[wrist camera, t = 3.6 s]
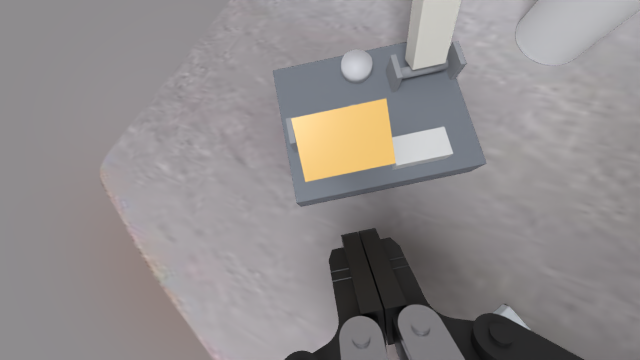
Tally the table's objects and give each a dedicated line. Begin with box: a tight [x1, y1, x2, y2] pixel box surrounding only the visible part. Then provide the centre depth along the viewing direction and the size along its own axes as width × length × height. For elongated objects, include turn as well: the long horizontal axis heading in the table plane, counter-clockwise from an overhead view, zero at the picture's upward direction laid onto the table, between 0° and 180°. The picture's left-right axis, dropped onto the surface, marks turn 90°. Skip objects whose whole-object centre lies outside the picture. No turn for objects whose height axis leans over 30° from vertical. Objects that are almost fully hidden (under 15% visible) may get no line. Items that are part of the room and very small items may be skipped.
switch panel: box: [273, 41, 486, 207], centre depth 26 cm, size 18×14×5 cm
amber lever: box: [291, 99, 396, 182], centre depth 17 cm, size 4×2×16 cm, turn 101°
